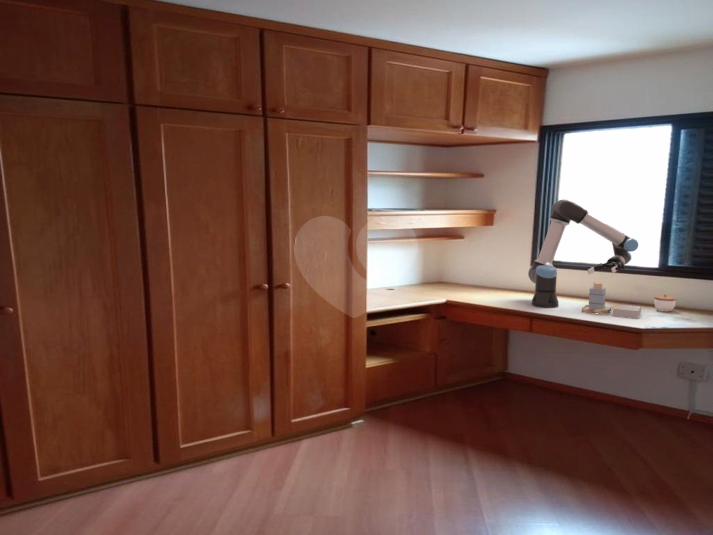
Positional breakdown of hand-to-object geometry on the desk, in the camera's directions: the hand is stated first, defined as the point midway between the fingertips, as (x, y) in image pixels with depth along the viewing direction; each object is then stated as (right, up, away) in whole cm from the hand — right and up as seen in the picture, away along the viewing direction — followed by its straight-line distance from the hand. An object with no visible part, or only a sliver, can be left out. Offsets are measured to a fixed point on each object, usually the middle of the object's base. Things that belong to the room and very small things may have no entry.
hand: (600, 271), depth 292 cm
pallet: (-5, -23, -5) cm, 24 cm away
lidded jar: (+35, -22, -3) cm, 42 cm away
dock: (+8, -24, -13) cm, 28 cm away
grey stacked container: (-5, -20, -5) cm, 22 cm away
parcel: (-5, -9, -7) cm, 12 cm away
